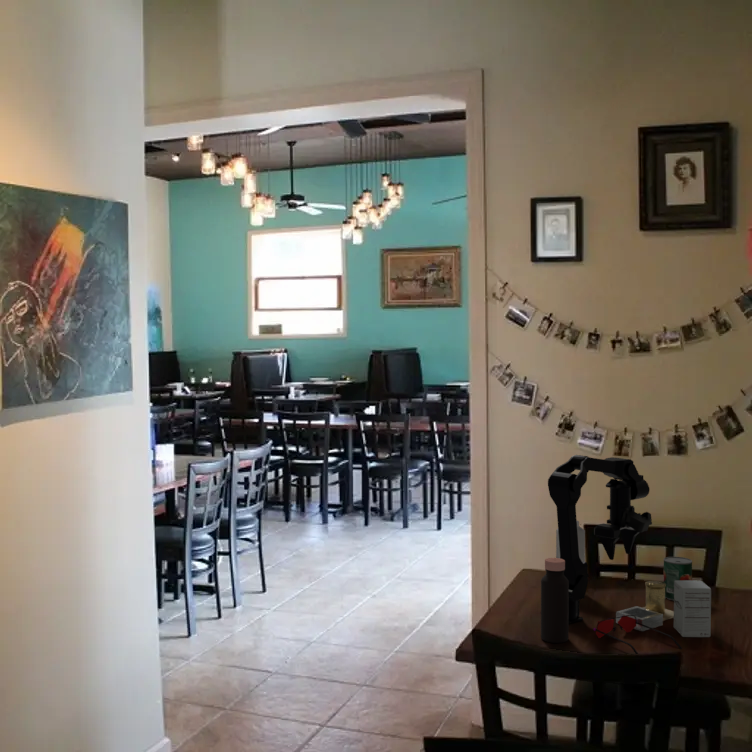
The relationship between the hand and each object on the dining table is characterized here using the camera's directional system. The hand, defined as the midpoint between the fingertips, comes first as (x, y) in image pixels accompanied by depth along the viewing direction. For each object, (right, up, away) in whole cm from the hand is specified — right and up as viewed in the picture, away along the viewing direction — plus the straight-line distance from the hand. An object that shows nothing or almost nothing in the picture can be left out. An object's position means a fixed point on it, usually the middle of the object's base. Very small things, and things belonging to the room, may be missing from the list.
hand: (619, 556), depth 257 cm
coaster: (+7, -14, -10) cm, 18 cm away
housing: (0, -14, -19) cm, 24 cm away
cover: (+7, -13, -11) cm, 18 cm away
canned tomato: (+18, -13, +5) cm, 23 cm away
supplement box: (+11, -14, -26) cm, 32 cm away
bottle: (-25, -15, -30) cm, 42 cm away
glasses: (-5, -15, -33) cm, 37 cm away
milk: (-12, -13, +9) cm, 20 cm away
